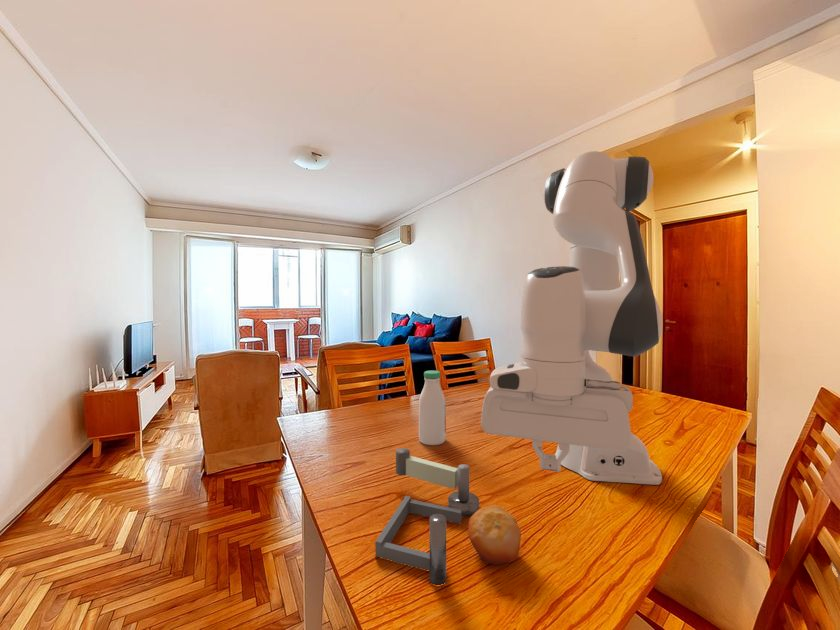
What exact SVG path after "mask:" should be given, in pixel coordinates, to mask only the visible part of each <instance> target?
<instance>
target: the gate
mask: <svg viewBox="0 0 840 630" xmlns="http://www.w3.org/2000/svg"><path fill="white" fill-rule="evenodd" d="M410 452H411V450H410V449H409V448H405V447H402V448H401V447H400V448H397V449H396V450H395V474H396V475H398V476H407V477H412V478H414V479H418V480H422V481H425V482H428V483H432V484H433V485H434V484H435V485H438V486H442V487H445V488H448V489H452V490H456V489H457V491H458V499H459V500H460V501H463V502H466V501H468V500H469V492H470V465H468V464H465V463H463V464H459V465H458V466H457V467H453V466H450V465H447V464H443V463H440V462H435V461H431V460H427V459H424V458H420V457H417V456H412V455H411V453H410Z"/></svg>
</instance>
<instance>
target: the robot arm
mask: <svg viewBox="0 0 840 630" xmlns="http://www.w3.org/2000/svg"><path fill="white" fill-rule="evenodd" d="M653 183H654V171H653V169H652V166H651V164H650V160H648V159H647V158H646V157H644V156H633V155H632V156H628V157H627V158H623V157H622V158H612V157H611V156H610V155H609V154H607V153H605V152H601V151H597V150H596V151H595V150H594V151H592V150H591V151H587V152H586V151H585V152H583V153H581V154H579V155H578V156H576V157H575V158H573V159H572V160H571V161H570V162H569V164H568V165H567V168H563V167H562V168H560V169H557V170H555V171H553V172H552V173H550V174H549V176H548V177H547V178H546V179H545V184H544V187H543V190H542V191H543V193H542V197H543V201H544V205H545V209H546V210H547V212H549V213H550V214H552V220H553V226H554V228H555V231H557V233H558V235H559V236H560V237H562V239H563V240H565V241H566V242H568V243H570V244H569V245H570V246H569V253H568V254H569V257H568V266H563V265H562V266H549V267H541V268H536V269H533V270H531V271H530V272H528V273H527V274H526V276H525V280H524V285H523V291H522V299H521V306H520V307H521V309H520V328H521V329H520V330H521V332H522V337H523V339H522V347H521V350H520V353H519V354H520V358H519V359H520V361H518V362H515V363H509V364H506V365H502V366H501V365H500V366H498V367H496V368H495V369H494V370H492V371H491V373H490V376H489V385H490V387H489V388H488V390H487V392H486V393H485V395H484V398H483V403H482V409H481V415H480V416H481V418H480V426H481V429H482V430H483V432H484V433H485V434H487V435H496V436H501V437H502V436H504V437H511V438H519V439H525V440H532V441H531V444H532V445H531V446H532V449H533V450H534V452H535V454H536V456H537V457H538V459H539V469H540V470H545V471H552V472H557V473H561V471H562V466H563V467H564V468H567V469H569V470H571V471H573V472H576V473H577V474H579V475H580V476H582V477H583V478H585V479H586V480H589V481H595V482H596V481H597V482H609V483H624V484H625V483H626V484H638V485H651V486H652V485H653V486H654V485H656V486H658V485H660V484H661V483H662V482H663V477H662V476H663V475H662V472H661V470H660V468H659V466H658V465H657V464H655V462H654V461H652V460H651V459H650V456H649V452H648V449H647V446H646V445H645V444H644V442H643V441H642V440H641V439H640V438H639V437H638V436H636V435H635V434H634V433H632V432H631V425H630V424H631V422H630V417H629V413H630V412H631V411H632V408H633V399H634V396H633V392H632V391H631V389H630V388H629V387H628V386H626V385H623V384H621V382H620V381H616V380H615V381H614V380H613V378H612V376H611V374H610V373H609V372H608V371H607V370H606V369H605V368H604V367H602V366H600V365H599V364H598V363H596V362H595V361H594V360H593V359H592V357H591V355H590V351H591V352H593V351H595V352H603V353H611V354H615V355H616V354H617V355H622V356H626V357H627V356H629V357H638V356H640V355H642V354H644V353H647V352H648V351H649V350H651V349H652V348H654V347H655V346H657V345H658V344H659V341H660V338H661V336H662V333H663V315H662V311H661V308H660V306H659V305H660V304H659V303H658V300H657V299H656V297H655V293H654V289H653V285H652V282H651V277H650V271H649V266H648V262H647V261H648V259H647V256H646V250H645V247H644V241H643V239H642V238H643V237H642V234H641V229H640V226H639V222H638V220H637V218H636V216H635V215H634V213H632V211H633V210H635V209H637V208H639V207H640V206H641V205H642V204H643V203H644V202H645V201H646V200H647V198H648V195H649V194H650V192H651V190H652V189H653V188H652V187H653V185H654V184H653ZM621 388H622V389H621ZM543 442H549V443H557V448H556V451H555V454H548V453H545V452H544V450H543Z"/></svg>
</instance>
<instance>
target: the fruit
mask: <svg viewBox="0 0 840 630" xmlns="http://www.w3.org/2000/svg"><path fill="white" fill-rule="evenodd" d="M468 536H469V537H468V538H469V540H470V543H471V545H472V547H473V548H474V550H475V552H476V554H477V555H478V556H479V558H480V559H481V561H482V562H484V563H485V564H488V565H489V564H491V565H501V564H502V565H503V564H508V563H511V562H514V561H515V560H517V558H518V556H519V554H520V548H521V540H522V531H521V529H520V526H519V525H518V521H517V519H516V517H515V516H514V515H513V514H512V513H510V512H509V511H507V510H506V509H505V508H504V507H502V506H500V505H499V504H498V505H496V504H493V505H492V504H489V505H485V506H482V507H481V508H480V507H479V509H478V510H477V511H476V512H475V513H474V514H473V515H472V516H471V517H469V521H468Z"/></svg>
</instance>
